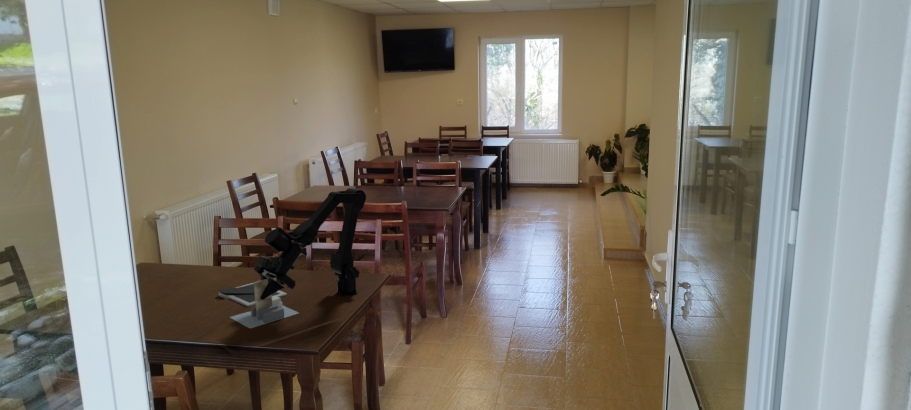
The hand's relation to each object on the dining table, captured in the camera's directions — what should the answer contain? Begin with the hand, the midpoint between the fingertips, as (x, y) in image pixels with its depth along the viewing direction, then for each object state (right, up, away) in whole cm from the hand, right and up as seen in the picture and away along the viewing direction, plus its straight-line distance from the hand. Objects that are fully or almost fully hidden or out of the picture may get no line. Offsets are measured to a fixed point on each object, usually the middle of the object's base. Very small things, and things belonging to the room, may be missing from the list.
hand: (259, 298), depth 201 cm
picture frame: (-10, -4, +23) cm, 25 cm away
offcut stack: (+2, -5, +10) cm, 11 cm away
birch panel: (+1, -6, +2) cm, 7 cm away
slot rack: (+1, -7, +2) cm, 7 cm away
